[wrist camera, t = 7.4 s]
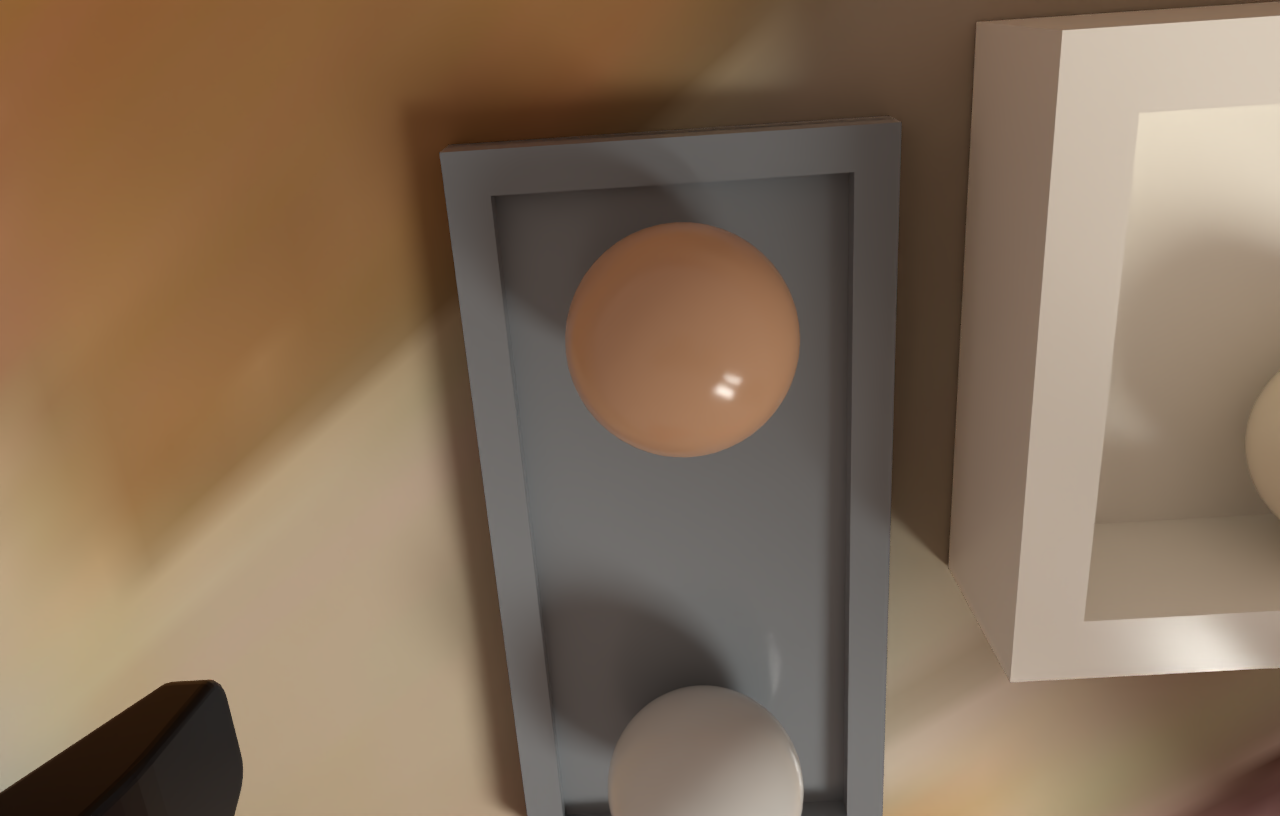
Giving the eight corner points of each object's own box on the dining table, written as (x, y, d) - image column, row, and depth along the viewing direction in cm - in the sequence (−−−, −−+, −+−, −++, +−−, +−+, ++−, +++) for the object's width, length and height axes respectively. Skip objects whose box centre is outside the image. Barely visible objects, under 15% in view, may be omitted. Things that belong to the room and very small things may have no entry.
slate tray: (872, 809, 25) (882, 841, 24) (536, 827, 25) (533, 859, 24) (888, 115, 19) (901, 121, 18) (449, 144, 19) (438, 152, 18)
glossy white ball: (790, 788, 24) (819, 935, 20) (616, 798, 24) (612, 945, 20) (788, 641, 23) (818, 770, 19) (602, 651, 23) (596, 782, 19)
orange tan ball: (785, 399, 20) (818, 490, 17) (581, 412, 21) (569, 505, 17) (782, 194, 19) (818, 244, 15) (562, 208, 19) (544, 261, 15)
